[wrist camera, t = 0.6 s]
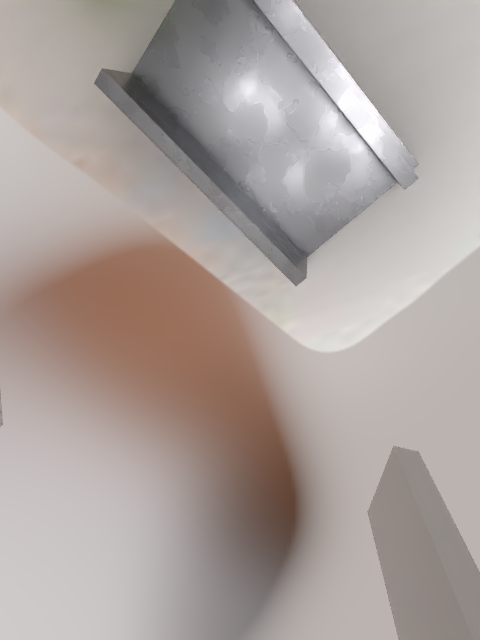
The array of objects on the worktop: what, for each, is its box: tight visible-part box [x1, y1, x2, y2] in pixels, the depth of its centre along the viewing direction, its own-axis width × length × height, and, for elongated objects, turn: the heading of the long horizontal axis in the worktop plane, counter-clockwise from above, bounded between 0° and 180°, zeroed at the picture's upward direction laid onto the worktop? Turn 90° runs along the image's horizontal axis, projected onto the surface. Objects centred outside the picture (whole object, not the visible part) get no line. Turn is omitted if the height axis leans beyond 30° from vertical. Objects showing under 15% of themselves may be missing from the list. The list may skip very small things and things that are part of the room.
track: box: [94, 0, 419, 286], centre depth 28 cm, size 14×22×6 cm, turn 46°
